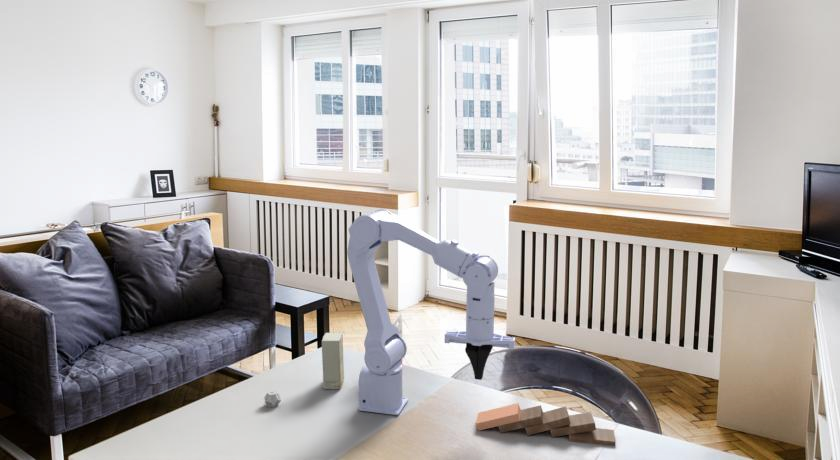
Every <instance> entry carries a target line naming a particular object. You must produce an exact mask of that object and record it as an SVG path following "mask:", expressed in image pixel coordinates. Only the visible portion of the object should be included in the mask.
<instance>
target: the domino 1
mask: <svg viewBox="0 0 840 460" xmlns="http://www.w3.org/2000/svg"><path fill="white" fill-rule="evenodd" d="M543 412H544V411H543V408H542V406H541V404H540V405H536V406H531V407H528V408H524V409H521V413H520V421H517V422H513V423H509V424H505V425H500V426H497V427H498V429H499V433H501V434H502V433H506V432H510V431H515V430H519V429H523V428H524V429H525V427H529V426H533V425H538V424H542V423H543Z"/></svg>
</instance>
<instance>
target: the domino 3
mask: <svg viewBox="0 0 840 460" xmlns="http://www.w3.org/2000/svg"><path fill="white" fill-rule="evenodd" d="M568 415H569V414H568ZM569 419H570V424H569V425H565V426H562V427H558V428H554V429H550V434H551V438H555V437H561V436H566V435H568V436H569V434H574V433H581V432H587V431H593V430H596V428H597V427H596V422H595V420H594V416H593V413H592V412H591V411H589V412H582V413H577V414H571V415H569Z"/></svg>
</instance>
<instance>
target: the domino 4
mask: <svg viewBox="0 0 840 460" xmlns="http://www.w3.org/2000/svg"><path fill="white" fill-rule="evenodd" d="M568 442H572V443H573V442H574V443H583V444H592V445H601V446H610V447H615V446H616V436H615V430H614V429H607V428H599V427H598V428H597V427H596V430H593V431H587V432H581V433H574V434H568Z"/></svg>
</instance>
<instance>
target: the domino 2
mask: <svg viewBox="0 0 840 460" xmlns="http://www.w3.org/2000/svg"><path fill="white" fill-rule="evenodd" d="M568 411H569V410H568V409H567V406H562V407H559V408H555V409H551V410H547V411H543V423H542V424H538V425H533V426H529V427H525V428H524V429H525V431H526V435H527V436H531V435H535V434H538V433H542V432H545V431H549V430H550V429H554V428H558V427H562V426H565V425H569V424H570V419H569V412H568Z"/></svg>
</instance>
